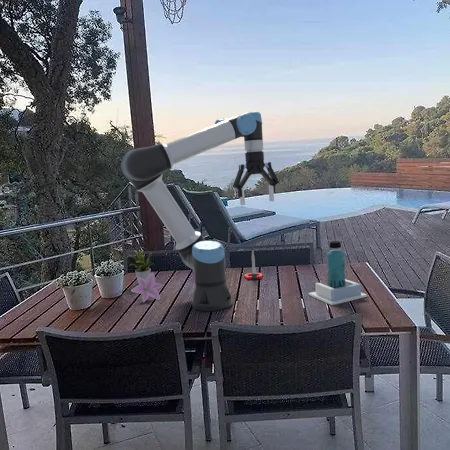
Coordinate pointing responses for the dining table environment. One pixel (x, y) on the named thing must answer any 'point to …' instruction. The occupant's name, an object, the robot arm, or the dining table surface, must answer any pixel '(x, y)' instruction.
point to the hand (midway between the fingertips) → (257, 203)
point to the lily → (147, 287)
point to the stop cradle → (338, 293)
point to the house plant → (142, 265)
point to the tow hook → (253, 271)
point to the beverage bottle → (336, 266)
